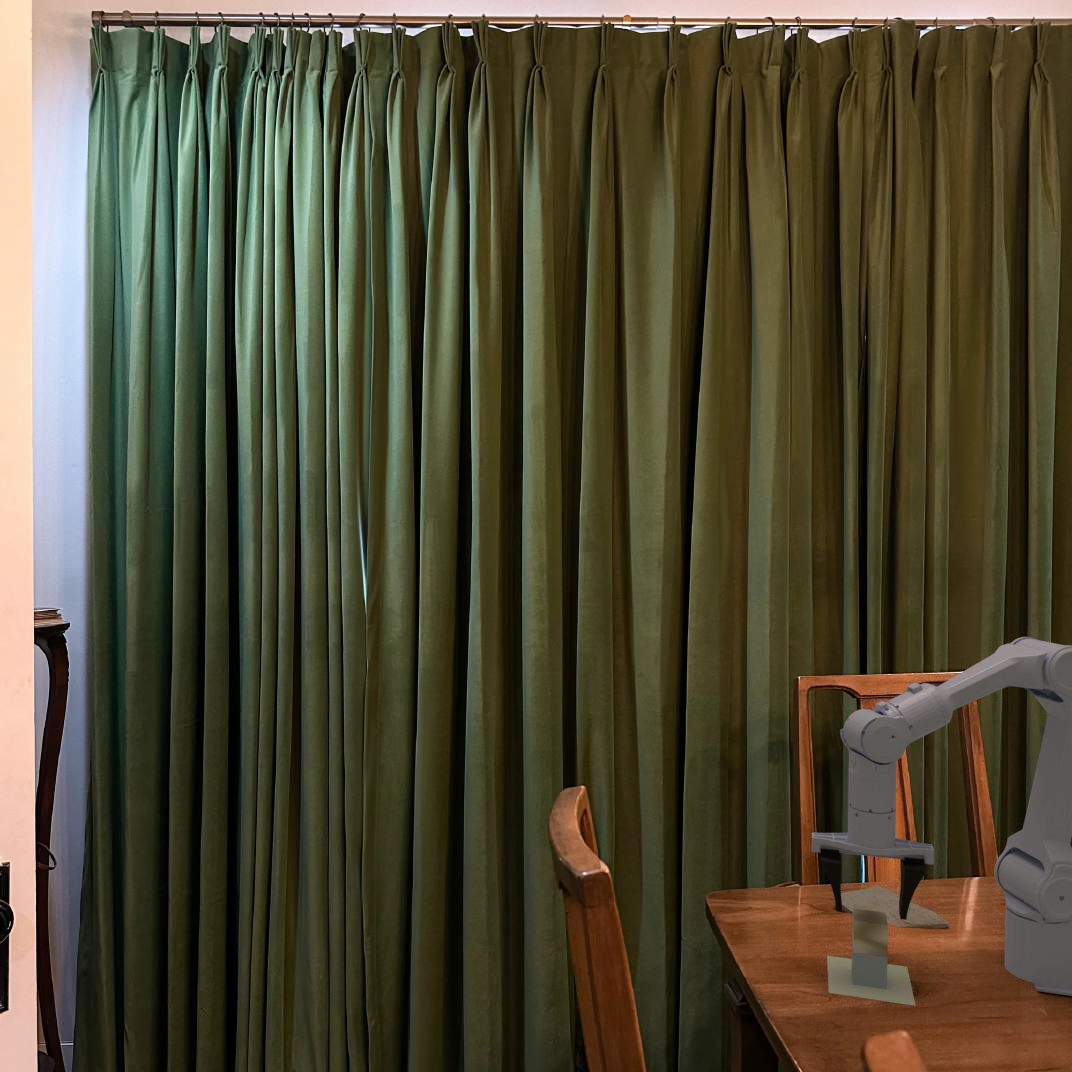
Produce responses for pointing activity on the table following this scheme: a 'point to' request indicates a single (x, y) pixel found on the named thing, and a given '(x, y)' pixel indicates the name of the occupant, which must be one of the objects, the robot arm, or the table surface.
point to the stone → (891, 908)
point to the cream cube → (870, 932)
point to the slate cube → (869, 970)
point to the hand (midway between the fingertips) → (870, 912)
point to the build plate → (843, 985)
